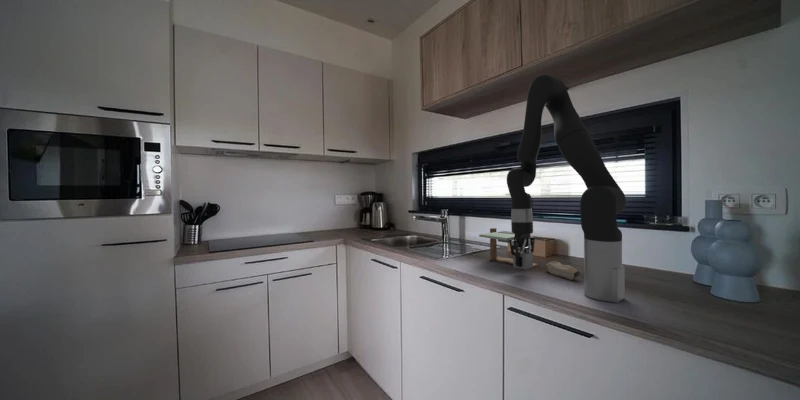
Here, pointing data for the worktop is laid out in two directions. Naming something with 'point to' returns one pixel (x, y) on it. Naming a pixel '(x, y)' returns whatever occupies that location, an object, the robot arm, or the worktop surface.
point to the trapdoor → (500, 236)
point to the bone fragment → (562, 270)
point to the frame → (494, 251)
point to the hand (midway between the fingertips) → (523, 265)
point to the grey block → (525, 260)
